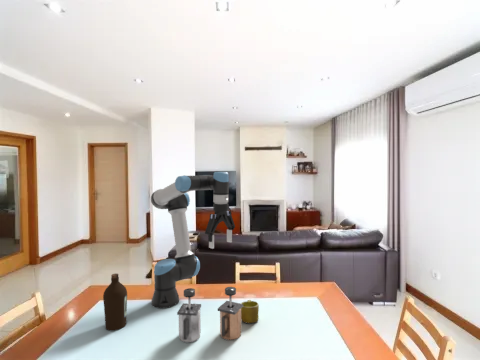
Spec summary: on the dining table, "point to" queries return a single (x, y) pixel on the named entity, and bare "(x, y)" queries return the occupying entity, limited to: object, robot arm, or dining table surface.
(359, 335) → the dining table surface
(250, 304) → the mug
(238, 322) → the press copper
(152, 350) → the dining table surface
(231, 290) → the plunger copper
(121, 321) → the olive oil
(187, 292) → the plunger steel
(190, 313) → the plate
